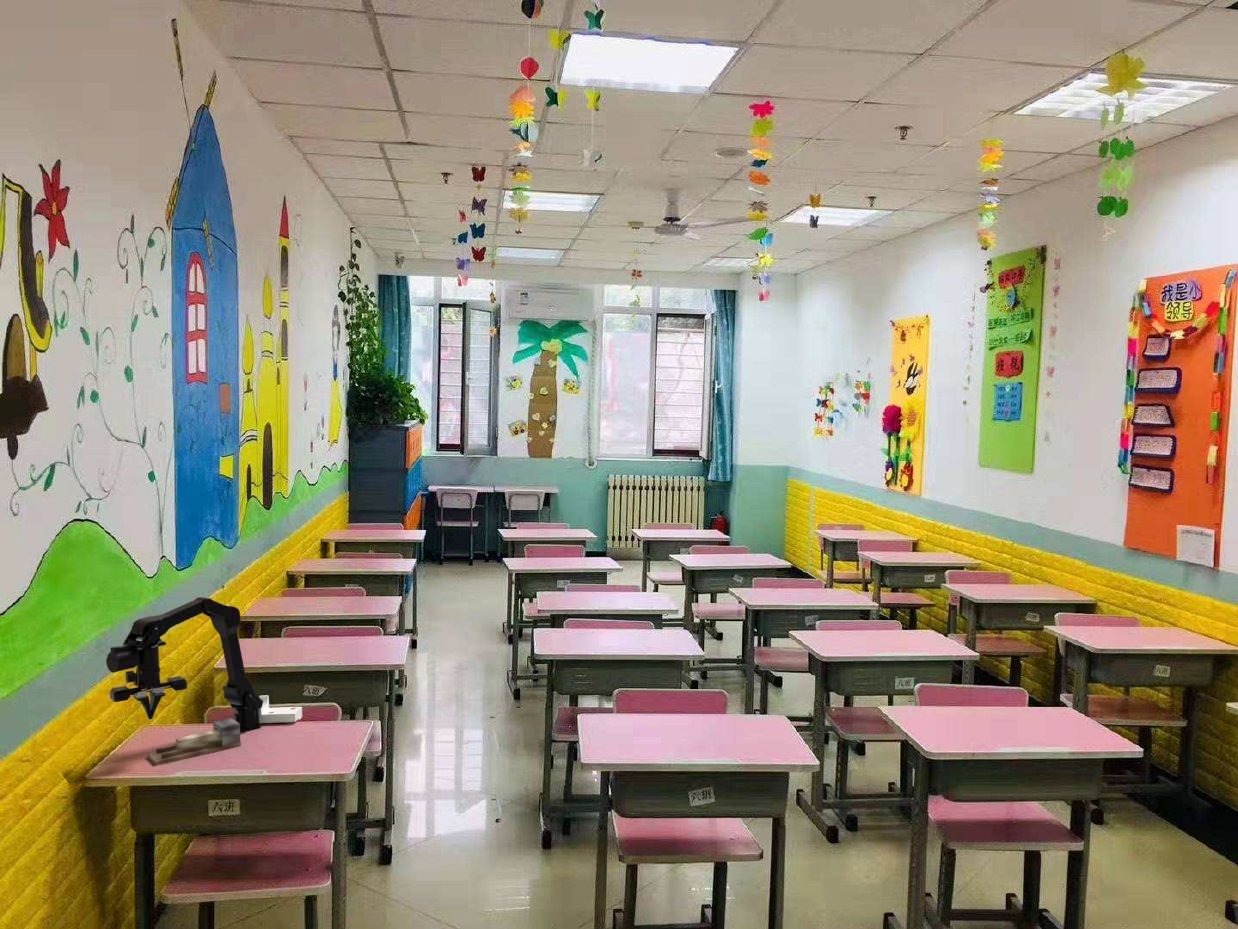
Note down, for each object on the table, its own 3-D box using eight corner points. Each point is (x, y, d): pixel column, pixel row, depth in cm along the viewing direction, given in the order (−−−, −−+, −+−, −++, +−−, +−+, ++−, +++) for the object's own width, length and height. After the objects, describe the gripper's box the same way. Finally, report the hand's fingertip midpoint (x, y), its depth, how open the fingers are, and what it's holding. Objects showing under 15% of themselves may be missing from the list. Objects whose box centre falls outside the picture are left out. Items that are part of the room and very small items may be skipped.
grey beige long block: (226, 739, 276) (226, 727, 276) (230, 741, 274) (229, 730, 274) (176, 750, 267) (175, 738, 267) (179, 753, 265) (178, 741, 265)
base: (231, 738, 280) (230, 717, 280) (241, 745, 273) (240, 724, 273) (147, 757, 265) (146, 734, 265) (156, 765, 258) (155, 742, 258)
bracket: (253, 726, 292) (252, 702, 292) (261, 719, 299) (260, 695, 299) (295, 724, 293) (294, 701, 292) (302, 717, 300) (301, 694, 299)
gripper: (175, 653, 273) (177, 705, 274) (104, 664, 261) (106, 719, 262) (186, 660, 265) (188, 714, 265) (113, 672, 253) (115, 729, 253)
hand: (150, 719), depth 262 cm, fingers closed
